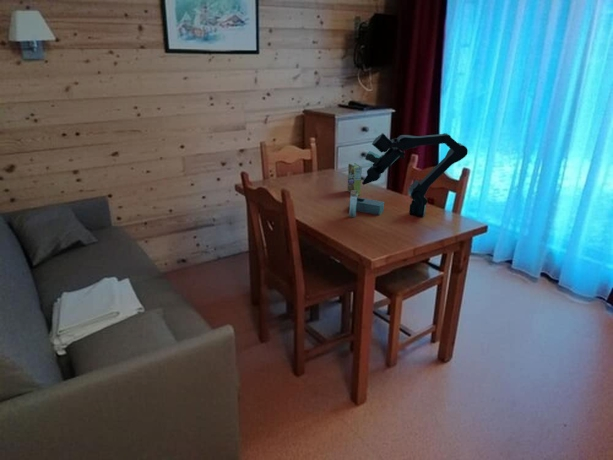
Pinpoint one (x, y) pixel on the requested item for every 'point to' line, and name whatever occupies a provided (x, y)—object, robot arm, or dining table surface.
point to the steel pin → (353, 203)
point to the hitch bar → (369, 206)
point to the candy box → (354, 177)
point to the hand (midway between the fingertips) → (364, 181)
